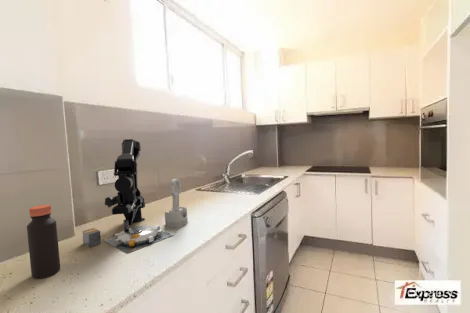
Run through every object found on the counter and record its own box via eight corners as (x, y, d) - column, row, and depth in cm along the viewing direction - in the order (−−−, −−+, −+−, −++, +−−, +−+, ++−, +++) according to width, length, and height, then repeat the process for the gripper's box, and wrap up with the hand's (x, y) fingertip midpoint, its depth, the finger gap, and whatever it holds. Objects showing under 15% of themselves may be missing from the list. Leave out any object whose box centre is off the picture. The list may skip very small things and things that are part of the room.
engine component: (161, 226, 108) (182, 227, 106) (158, 181, 107) (179, 181, 105) (172, 218, 119) (191, 219, 117) (169, 177, 118) (189, 177, 116)
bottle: (44, 267, 76) (38, 204, 74) (65, 266, 75) (60, 203, 74) (25, 279, 69) (18, 210, 68) (48, 279, 69) (41, 209, 67)
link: (83, 243, 93) (82, 230, 93) (94, 240, 96) (93, 227, 96) (89, 247, 89) (88, 234, 89) (101, 243, 92) (100, 230, 92)
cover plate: (103, 241, 94) (103, 240, 94) (147, 226, 109) (147, 226, 109) (127, 253, 82) (127, 253, 82) (173, 235, 97) (173, 234, 97)
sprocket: (105, 239, 95) (104, 223, 94) (147, 226, 108) (146, 211, 108) (128, 251, 83) (127, 232, 83) (171, 234, 97) (170, 218, 97)
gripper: (116, 185, 109) (119, 219, 110) (95, 193, 91) (99, 234, 92) (142, 183, 110) (144, 217, 111) (126, 192, 91) (129, 232, 92)
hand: (130, 224), depth 101 cm, fingers closed
